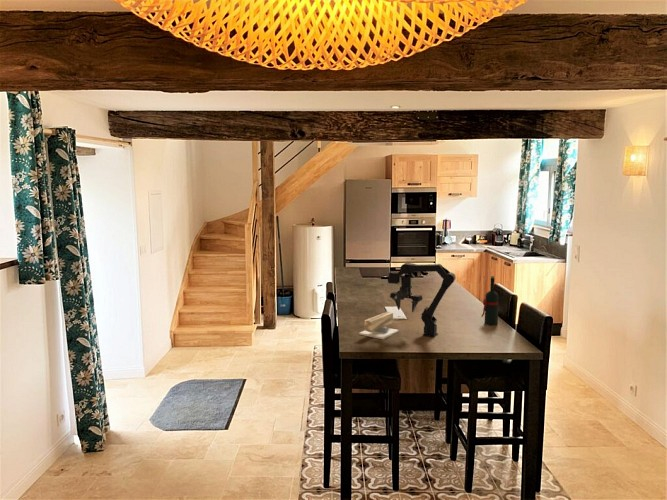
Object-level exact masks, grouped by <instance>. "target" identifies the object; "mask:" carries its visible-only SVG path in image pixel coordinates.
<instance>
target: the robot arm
mask: <svg viewBox="0 0 667 500" xmlns="http://www.w3.org/2000/svg"><path fill="white" fill-rule="evenodd" d="M419 272H422V273H423V272H425V273H426V272H436V273H438V275H439V276H440V278H441V279H442V282H441V285H440V287H439V289H438V292H437V293H436V295H435V296H434V298H433V300H432V301H431V303H430V305H429V307H428V306H426V307H424V309H423V312H422V313H421V314H420V315H421V318H420V319H421V321H422V322H423V323H424V326H423V334H422V335H423V336H426V337H430V338H431V337H432V338H434V337H436V336H437V335H439V333H437V329H438V328H437V327H438V325H437V324H436V323H437V322H438V319H437V318H436V316H435V312H436V309H437V308H438V306H439V304H440V302H441V300H442V299H443V297H444V295H445V293H446V292H447V290H448V289H449V288H450V287H451V286H452V285H453V283H454V282H455V280H456V279H457V277H456V274H455V273H453V272H451V271H449V269H447V268H446V267H445V266H443V265H442V264H441V263H437V264H416V263H412V262H405V263H403V264H402V265H401V266H400V269H399V271H398V272H393V271H390V272H388V278H387V283H388V284H389V285H390V284H391V285H399V284H400V286H399V289H398V290H397V291H392V292H390V294H389V298H390V299H392V300H393V301H394V302H395V304H396V305H395V306H396V307H397V308H398V310H400V308H401V301H403V300H405V299H410V300H411V313H414V312H415V309H416V308H417V306H418V304H419V303H420V302H422V301H423V296H422V294H414V295H413V292H412V288H413V285H412V279H413V278H415V275H414V274H413V273H419Z"/></svg>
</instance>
